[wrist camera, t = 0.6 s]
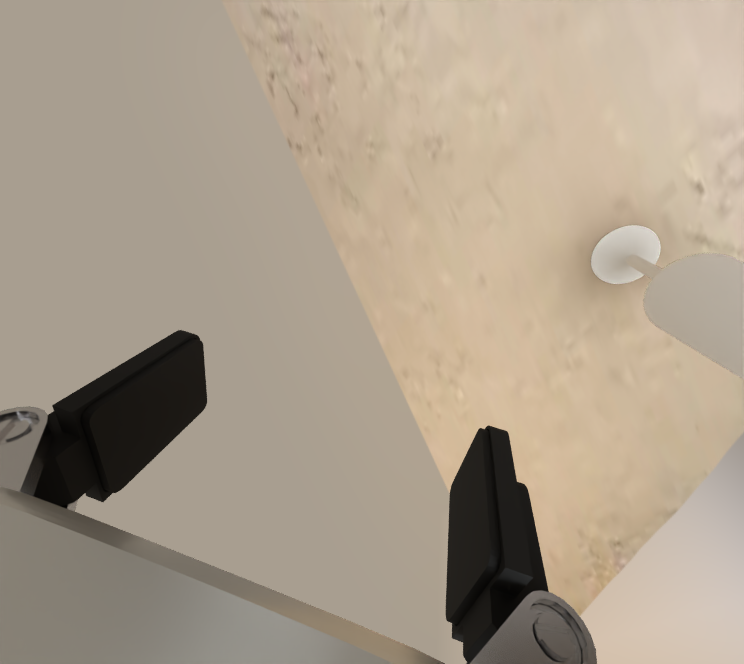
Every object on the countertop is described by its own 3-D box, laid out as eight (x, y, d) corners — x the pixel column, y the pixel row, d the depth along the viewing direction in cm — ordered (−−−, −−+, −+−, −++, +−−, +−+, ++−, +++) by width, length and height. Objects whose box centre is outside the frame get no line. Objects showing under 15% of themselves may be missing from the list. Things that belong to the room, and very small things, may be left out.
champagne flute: (622, 295, 39) (802, 442, 19) (576, 263, 39) (709, 377, 18) (676, 247, 36) (969, 363, 15) (627, 212, 36) (860, 280, 15)
